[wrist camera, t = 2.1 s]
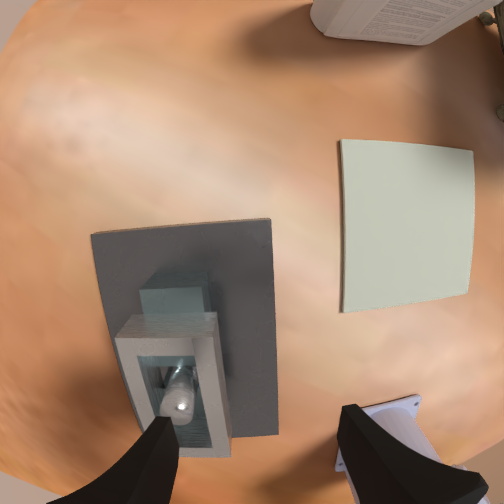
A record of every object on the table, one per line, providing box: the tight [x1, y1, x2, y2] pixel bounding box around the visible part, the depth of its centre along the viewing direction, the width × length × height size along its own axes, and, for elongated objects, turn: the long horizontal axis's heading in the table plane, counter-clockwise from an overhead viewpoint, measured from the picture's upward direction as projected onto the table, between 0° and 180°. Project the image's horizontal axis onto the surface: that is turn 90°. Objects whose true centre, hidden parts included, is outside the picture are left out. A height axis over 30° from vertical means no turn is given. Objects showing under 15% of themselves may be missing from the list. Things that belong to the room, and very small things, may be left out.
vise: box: [91, 218, 279, 438], centre depth 18 cm, size 18×12×8 cm, turn 4°
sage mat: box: [340, 139, 475, 313], centre depth 20 cm, size 12×12×1 cm
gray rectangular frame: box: [115, 312, 232, 457], centre depth 16 cm, size 9×5×3 cm, turn 4°
